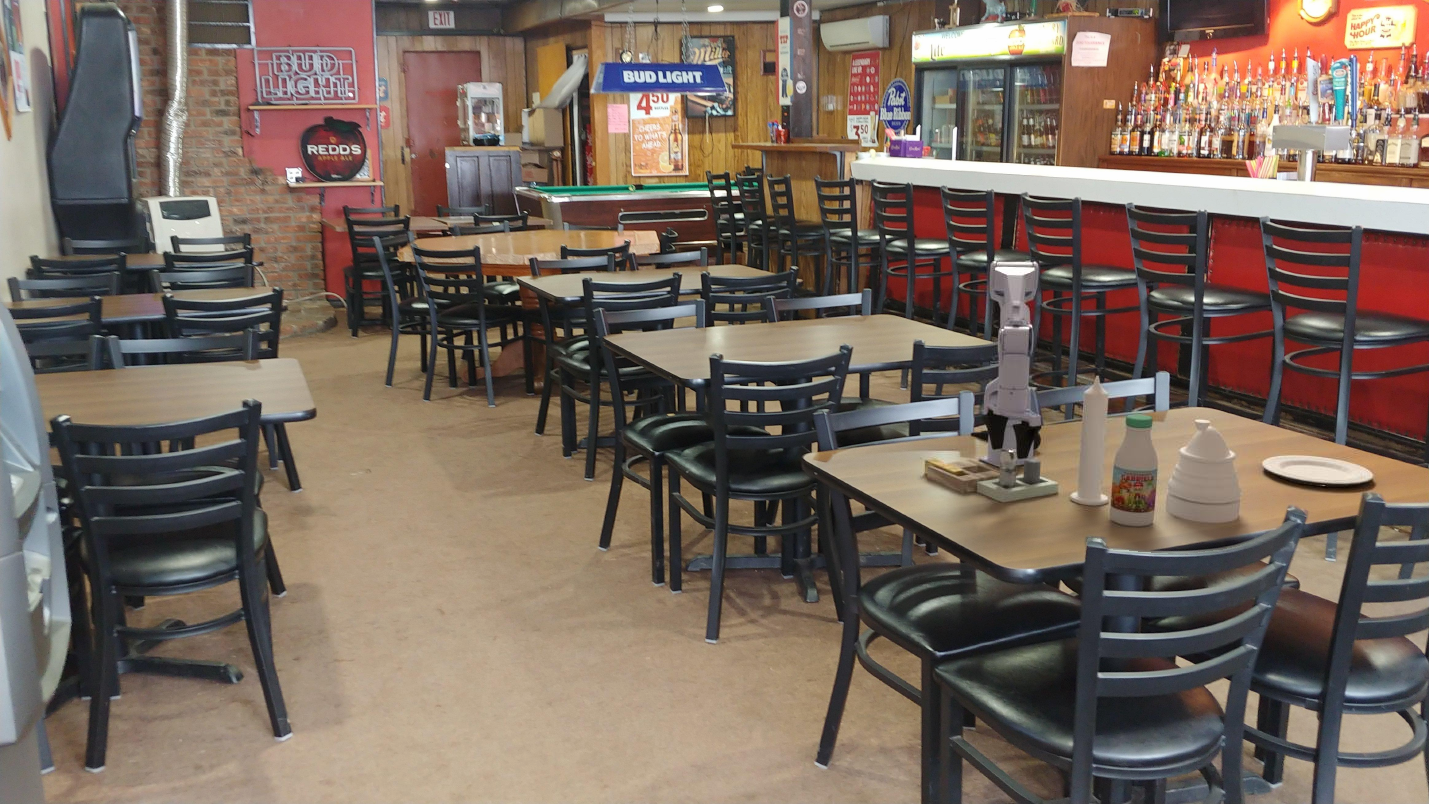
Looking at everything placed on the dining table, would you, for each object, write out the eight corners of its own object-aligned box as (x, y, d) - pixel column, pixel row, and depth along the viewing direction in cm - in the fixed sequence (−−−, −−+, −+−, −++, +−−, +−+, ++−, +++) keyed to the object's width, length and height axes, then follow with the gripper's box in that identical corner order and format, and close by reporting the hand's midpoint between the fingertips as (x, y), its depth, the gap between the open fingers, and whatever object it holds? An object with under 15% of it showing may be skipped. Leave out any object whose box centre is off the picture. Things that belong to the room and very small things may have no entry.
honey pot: (1202, 526, 209) (1211, 431, 205) (1150, 506, 221) (1158, 416, 217) (1254, 517, 214) (1263, 424, 210) (1200, 497, 226) (1209, 409, 222)
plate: (1383, 475, 241) (1384, 466, 240) (1357, 498, 225) (1359, 489, 225) (1278, 458, 254) (1279, 449, 254) (1247, 478, 239) (1248, 469, 239)
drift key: (933, 471, 244) (934, 458, 244) (963, 484, 236) (963, 470, 235) (924, 473, 243) (925, 459, 243) (953, 485, 235) (954, 471, 234)
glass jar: (1007, 490, 231) (1010, 447, 229) (1018, 495, 228) (1020, 451, 226) (995, 492, 230) (997, 449, 228) (1005, 497, 227) (1008, 453, 225)
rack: (1030, 482, 237) (1032, 454, 235) (1058, 492, 230) (1059, 463, 228) (976, 491, 231) (978, 462, 229) (1002, 502, 224) (1004, 473, 222)
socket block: (969, 470, 245) (970, 459, 245) (1006, 485, 235) (1007, 473, 234) (927, 477, 240) (927, 466, 240) (963, 492, 230) (963, 481, 229)
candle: (1089, 507, 220) (1097, 381, 215) (1062, 497, 226) (1070, 374, 221) (1115, 502, 223) (1125, 377, 218) (1088, 492, 229) (1097, 370, 224)
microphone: (967, 449, 274) (1033, 457, 258) (961, 428, 272) (1027, 434, 256) (981, 439, 277) (1048, 446, 260) (975, 418, 275) (1042, 424, 259)
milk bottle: (1102, 514, 216) (1110, 412, 211) (1142, 513, 217) (1150, 411, 212) (1120, 528, 208) (1128, 422, 204) (1160, 526, 209) (1169, 421, 205)
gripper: (973, 381, 229) (970, 447, 232) (1021, 396, 216) (1018, 465, 219) (1001, 378, 232) (997, 442, 235) (1050, 392, 219) (1046, 460, 222)
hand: (1009, 453), depth 227 cm, fingers open, 7 cm apart
